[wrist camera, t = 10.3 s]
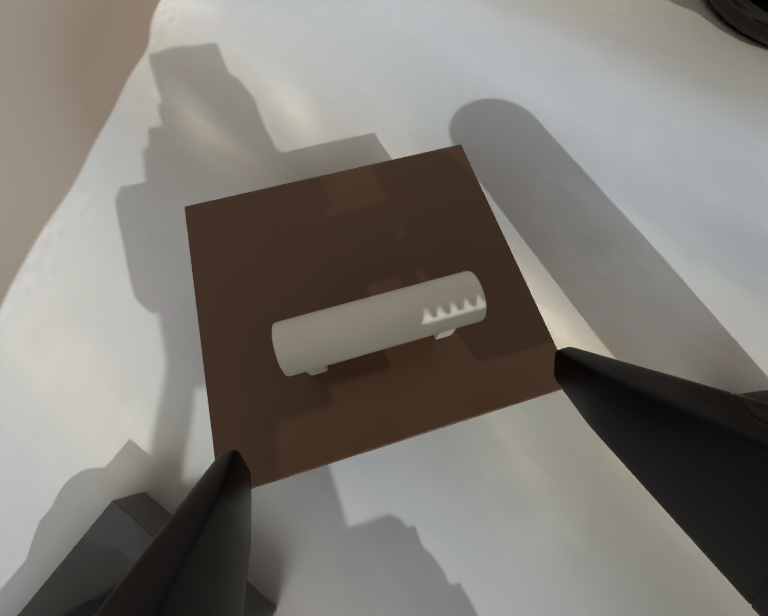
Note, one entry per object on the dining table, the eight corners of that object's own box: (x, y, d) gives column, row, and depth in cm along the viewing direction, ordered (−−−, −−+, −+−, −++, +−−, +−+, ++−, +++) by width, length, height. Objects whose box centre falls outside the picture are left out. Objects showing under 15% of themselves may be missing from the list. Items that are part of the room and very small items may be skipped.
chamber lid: (565, 387, 13) (663, 367, 9) (227, 494, 12) (133, 539, 7) (457, 154, 17) (486, 55, 13) (192, 215, 16) (114, 128, 11)
